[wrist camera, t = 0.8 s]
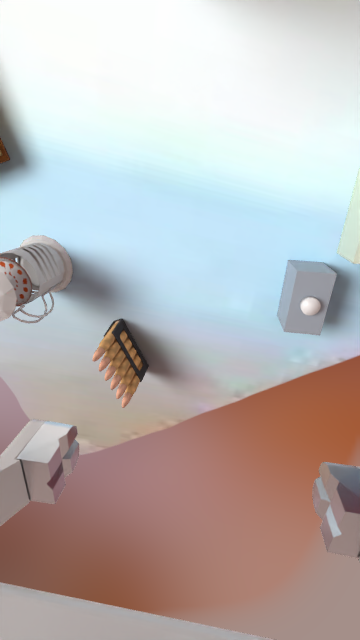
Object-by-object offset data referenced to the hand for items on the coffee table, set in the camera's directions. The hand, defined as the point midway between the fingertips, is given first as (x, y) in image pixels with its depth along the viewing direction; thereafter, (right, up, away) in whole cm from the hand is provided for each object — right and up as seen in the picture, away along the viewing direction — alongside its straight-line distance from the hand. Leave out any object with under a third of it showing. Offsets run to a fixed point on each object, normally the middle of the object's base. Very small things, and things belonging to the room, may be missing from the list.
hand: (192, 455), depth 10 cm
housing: (+18, +9, +36) cm, 41 cm away
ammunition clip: (-9, 0, +44) cm, 45 cm away
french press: (-23, +13, +40) cm, 48 cm away
